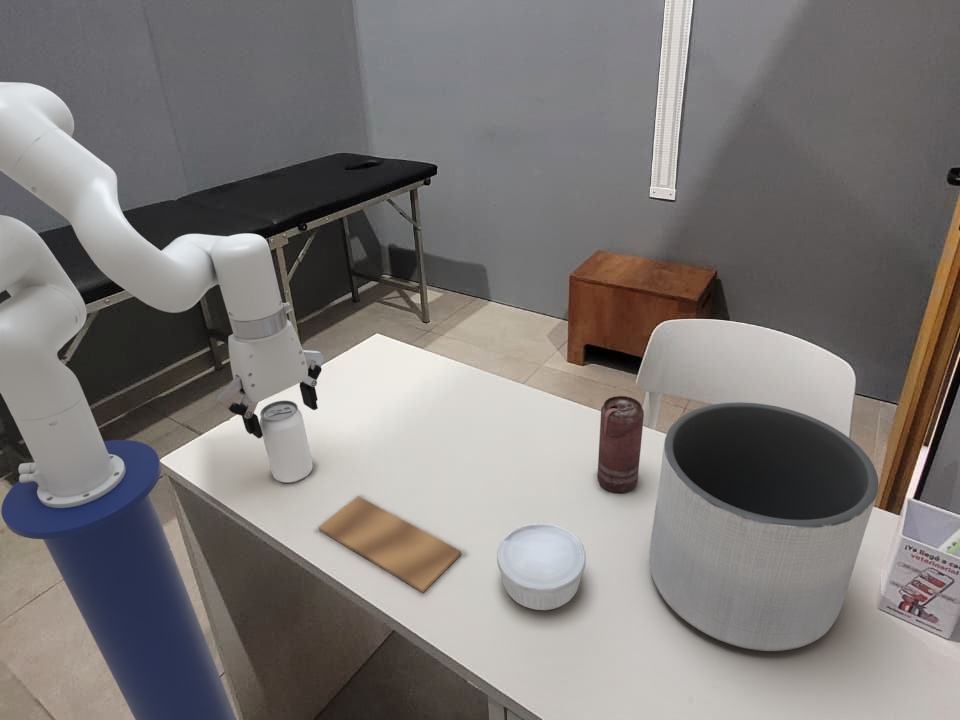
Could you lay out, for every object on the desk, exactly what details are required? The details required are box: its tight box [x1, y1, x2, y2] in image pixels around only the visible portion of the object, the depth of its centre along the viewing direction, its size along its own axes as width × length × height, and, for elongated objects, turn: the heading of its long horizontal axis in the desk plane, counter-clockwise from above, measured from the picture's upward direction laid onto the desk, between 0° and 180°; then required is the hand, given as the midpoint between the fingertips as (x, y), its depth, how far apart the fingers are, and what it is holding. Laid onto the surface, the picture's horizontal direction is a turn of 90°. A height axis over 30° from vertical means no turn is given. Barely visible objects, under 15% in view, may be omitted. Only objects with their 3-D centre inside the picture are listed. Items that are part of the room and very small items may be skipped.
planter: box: [649, 402, 879, 652], centre depth 78 cm, size 23×23×20 cm
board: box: [318, 496, 462, 593], centre depth 91 cm, size 20×8×1 cm, turn 53°
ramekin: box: [496, 522, 587, 611], centre depth 82 cm, size 11×11×5 cm
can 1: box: [259, 400, 314, 484], centre depth 103 cm, size 6×6×12 cm
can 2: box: [596, 395, 645, 494], centre depth 97 cm, size 6×6×14 cm
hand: (284, 420), depth 101 cm, fingers open, 9 cm apart
